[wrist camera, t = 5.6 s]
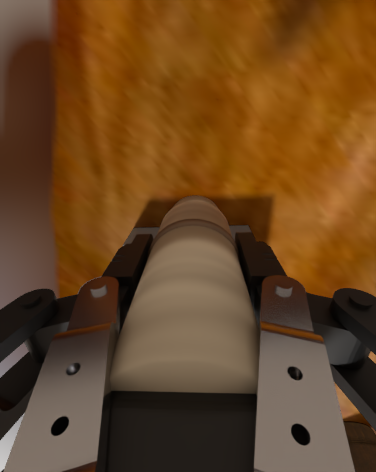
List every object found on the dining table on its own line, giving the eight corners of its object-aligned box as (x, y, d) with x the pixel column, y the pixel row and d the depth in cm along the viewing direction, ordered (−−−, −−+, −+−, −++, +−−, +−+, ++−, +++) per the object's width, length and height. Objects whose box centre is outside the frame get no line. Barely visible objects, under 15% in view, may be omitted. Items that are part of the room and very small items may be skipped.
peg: (160, 190, 14) (65, 354, 4) (228, 188, 14) (307, 358, 4) (166, 248, 16) (111, 458, 6) (226, 247, 15) (273, 464, 6)
